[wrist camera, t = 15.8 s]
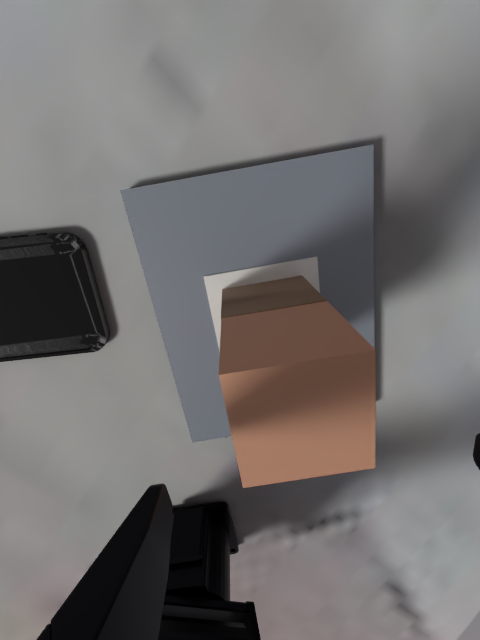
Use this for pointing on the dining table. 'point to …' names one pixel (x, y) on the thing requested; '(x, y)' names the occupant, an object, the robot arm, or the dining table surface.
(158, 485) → the robot arm
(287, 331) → the terracotta cube
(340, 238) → the board
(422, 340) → the dining table surface
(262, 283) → the walnut cube
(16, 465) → the dining table surface
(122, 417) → the dining table surface
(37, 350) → the phone
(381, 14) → the dining table surface
